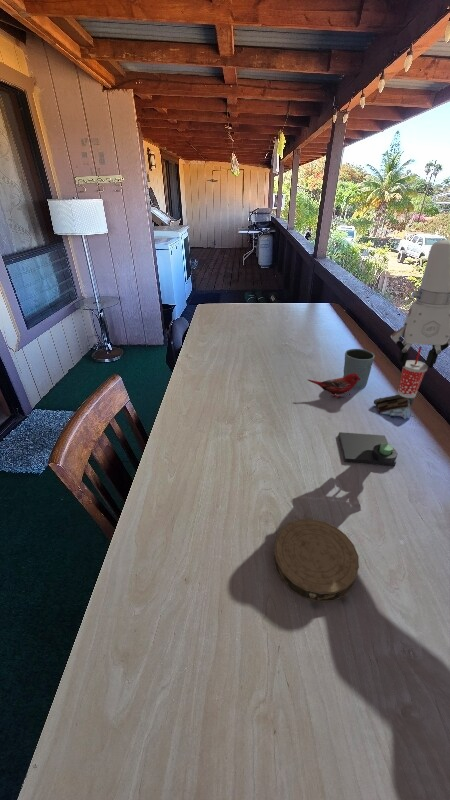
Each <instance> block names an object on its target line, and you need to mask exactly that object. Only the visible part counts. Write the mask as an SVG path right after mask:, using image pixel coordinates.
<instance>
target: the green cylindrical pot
mask: <svg viewBox="0 0 450 800" xmlns="http://www.w3.org/2000/svg"><path fill="white" fill-rule="evenodd" d="M375 356H376V355H375V353H373V352H372V351H370V350H367V349H364V348H363V349H362V348H350V349H347V350H346V351H345V352H344V362H343V364H344V365H343V376H342V378H343V377H345V376H347V375H348V374H352V373H355V374H357V375H358V377H359V378H360V379H361V380H358V381H357V383H356V384H355V385H354V387H353V388H352V389H364V388H366V386H367V385H368V381H369V377H370V374H371V370H372V366H373V363H374V360H375Z"/></svg>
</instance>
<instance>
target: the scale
mask: <svg viewBox="0 0 450 800" xmlns="http://www.w3.org/2000/svg"><path fill="white" fill-rule="evenodd" d="M337 436H338V440H339V444H340V449H341V453H342V458H343V461H344V463H349V464H362V465H373V466H383V467H385V466H386V467H396V464H397V461H396V460H397V458H398V452H397V449H395V448H394V447H393V446H392V448H393V449H392V452H391V455H383V454H381V453H380V452H379V449H380V445H381V444H389V442H388V440H387V438H386V435H383V434H370V433H354V432H342V431H341V432H340V431H339V432H338V435H337Z"/></svg>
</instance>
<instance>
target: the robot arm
mask: <svg viewBox="0 0 450 800" xmlns="http://www.w3.org/2000/svg"><path fill="white" fill-rule="evenodd" d="M424 267H425V268H424V271H423V275H422V279H421V282H420V287H418V290H417V291H412V293H411V298H415V300H413V301H412V303H411V305H410V308H409V309H408V312H407V314H406V317H405V320H404V323H403V325H402V327H400V328H399V329H398V330H396V331H394V332H393V333H392V334H391V335H390V338H391V340H392V341H393V342H394V344H396V346H397V347H398V348H399V349H400V350H399V354H398V358H397V362H398V363H399V364H400V366H401V367H402V368H403V367H404V366H405V365H406V361H407V360H408V357H409V352H408V350H409V349H410V348H411V346H413V345H420V346H421V345H422V346H423V345H424V346H431V349H429V351H428V353H427V356H426V360H425V364H427V366H428V368H429V369H433V367H434V365H435V364H436V362H437V360H438V356H439V355H440V354H441V353H442V352H443V351H444V350H446V349H448V348H449V347H450V239H444V240H443V239H442V240H437V241H435V242H433V243H432V245H431V247H430V249H429V253H428V257H427V259H426V264H425V266H424ZM400 337H402V338H403V340H402V341H401V340H400Z"/></svg>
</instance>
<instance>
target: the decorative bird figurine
mask: <svg viewBox="0 0 450 800" xmlns="http://www.w3.org/2000/svg"><path fill="white" fill-rule="evenodd" d="M358 380H361V379H360V378H359V377H358V375H357V374H355V373H352V374H348V375H347V376H345V377H343V376H342V377H339V378H338V377H337V378H331V379H327V380H323V381H317V380H314V379H313V380H312V379H307V381H308V382H309V383H312V384H315V385H318V386H319V387H320V388H321V389H322V390H323V391H326V392H327V393H330V394H331V395H330V397H332V398H336V399H341V398H344V399H345V396H340V395H343V394H347V393H348V392H349V391H351V390H352V389H354V388H353V387H354V385H355V384H356V383H357V381H358Z"/></svg>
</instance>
